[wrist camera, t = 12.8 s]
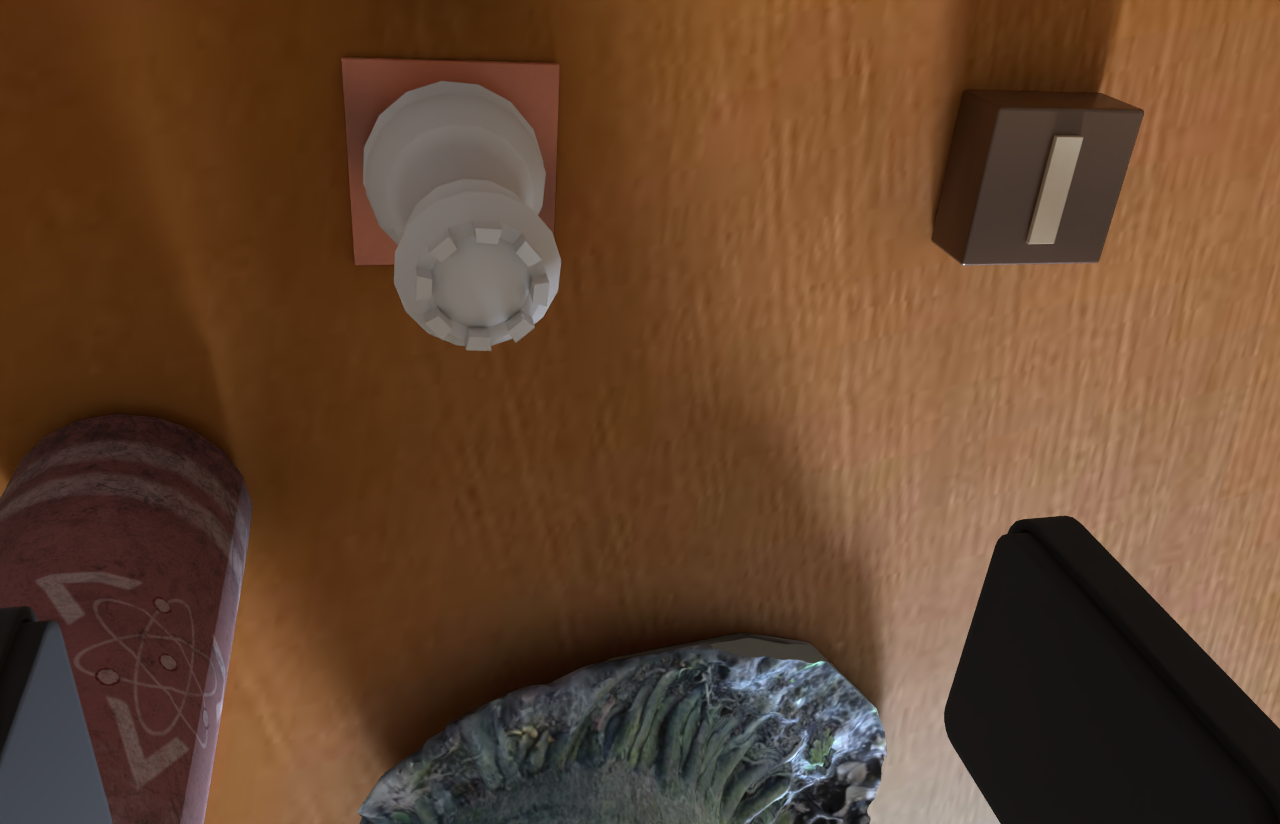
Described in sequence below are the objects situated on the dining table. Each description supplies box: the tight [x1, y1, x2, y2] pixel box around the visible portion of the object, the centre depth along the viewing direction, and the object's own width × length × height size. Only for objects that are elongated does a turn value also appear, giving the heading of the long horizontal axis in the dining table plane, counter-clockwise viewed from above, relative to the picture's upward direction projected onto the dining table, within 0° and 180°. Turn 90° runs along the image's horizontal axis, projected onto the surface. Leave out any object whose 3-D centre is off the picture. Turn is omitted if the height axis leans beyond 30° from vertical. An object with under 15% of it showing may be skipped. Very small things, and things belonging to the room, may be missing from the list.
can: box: [0, 414, 252, 824], centre depth 23 cm, size 6×6×14 cm
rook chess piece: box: [363, 81, 561, 351], centre depth 23 cm, size 4×4×8 cm
